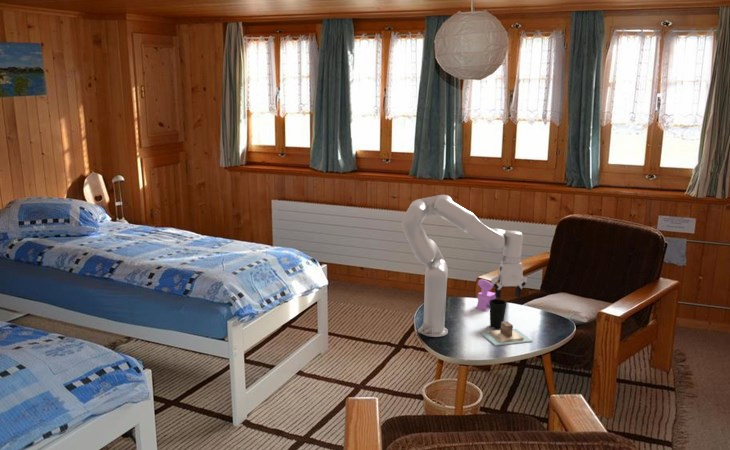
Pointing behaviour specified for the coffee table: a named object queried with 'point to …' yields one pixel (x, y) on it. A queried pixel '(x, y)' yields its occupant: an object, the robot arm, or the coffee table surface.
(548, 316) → the coffee table surface
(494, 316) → the cup
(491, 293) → the toy chair
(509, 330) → the lid
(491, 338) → the mat
